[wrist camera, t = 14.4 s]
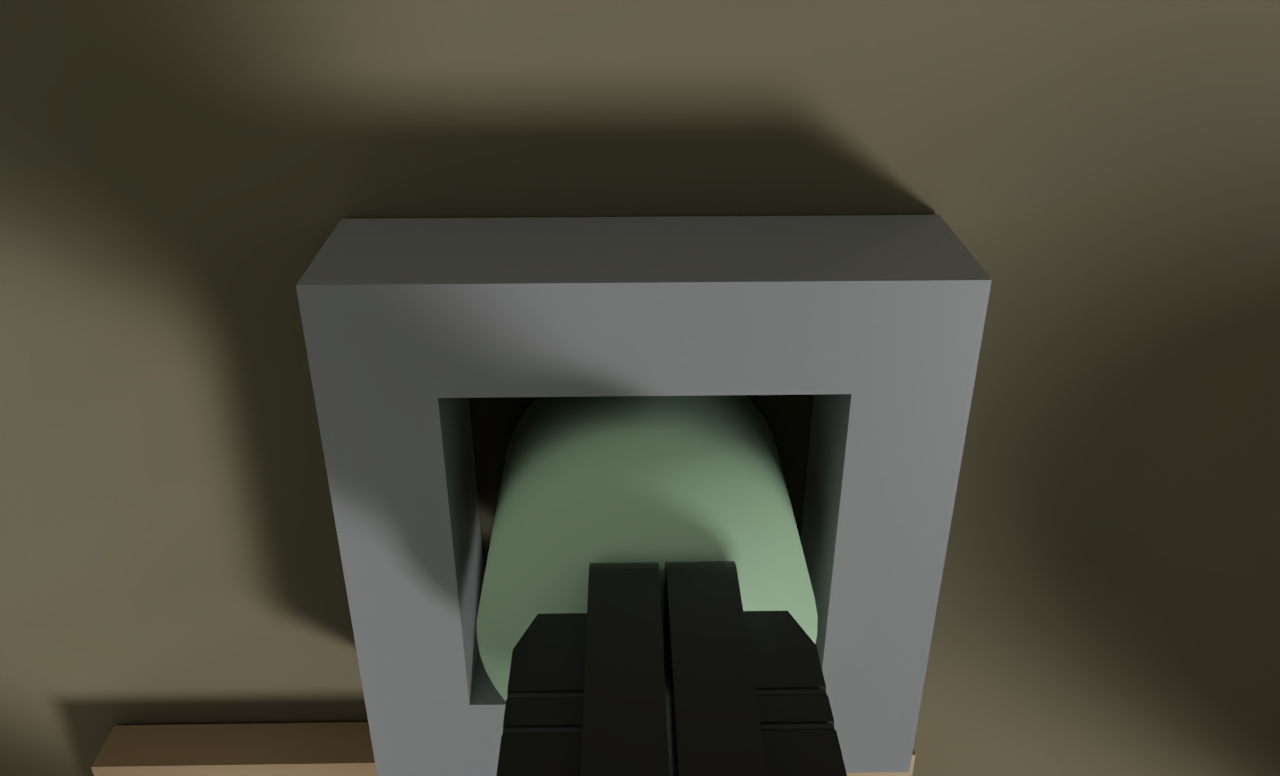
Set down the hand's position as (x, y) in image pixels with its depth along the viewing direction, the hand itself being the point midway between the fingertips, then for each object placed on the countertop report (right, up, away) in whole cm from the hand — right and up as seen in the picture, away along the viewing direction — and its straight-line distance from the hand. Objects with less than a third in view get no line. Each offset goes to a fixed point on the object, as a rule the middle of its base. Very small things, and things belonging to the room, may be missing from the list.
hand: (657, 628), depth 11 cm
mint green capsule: (0, +2, +4) cm, 4 cm away
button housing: (0, +1, +3) cm, 3 cm away
